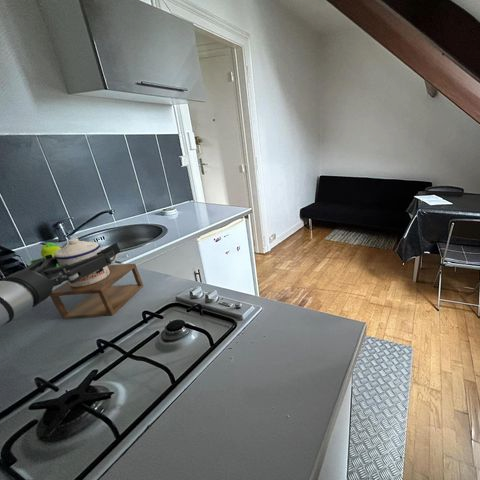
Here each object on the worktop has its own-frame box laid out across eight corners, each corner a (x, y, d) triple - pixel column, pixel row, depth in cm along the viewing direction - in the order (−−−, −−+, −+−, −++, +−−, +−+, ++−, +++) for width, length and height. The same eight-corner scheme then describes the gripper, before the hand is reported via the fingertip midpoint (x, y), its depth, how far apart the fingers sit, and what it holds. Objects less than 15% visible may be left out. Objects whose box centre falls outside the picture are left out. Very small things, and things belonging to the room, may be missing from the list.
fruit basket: (76, 261, 102) (63, 234, 97) (83, 266, 97) (69, 238, 92) (35, 274, 93) (19, 245, 89) (41, 280, 88) (24, 250, 84)
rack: (62, 318, 68) (48, 293, 65) (101, 288, 81) (91, 266, 78) (112, 315, 68) (100, 289, 65) (143, 286, 81) (135, 263, 78)
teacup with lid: (69, 292, 65) (48, 250, 60) (67, 279, 71) (48, 240, 66) (126, 273, 72) (111, 234, 68) (120, 263, 78) (106, 227, 74)
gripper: (64, 274, 51) (134, 233, 72) (-54, 282, 51) (50, 239, 71) (79, 306, 54) (143, 258, 74) (-31, 313, 54) (63, 263, 74)
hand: (98, 248), depth 73 cm, fingers closed on teacup with lid, 10 cm apart
